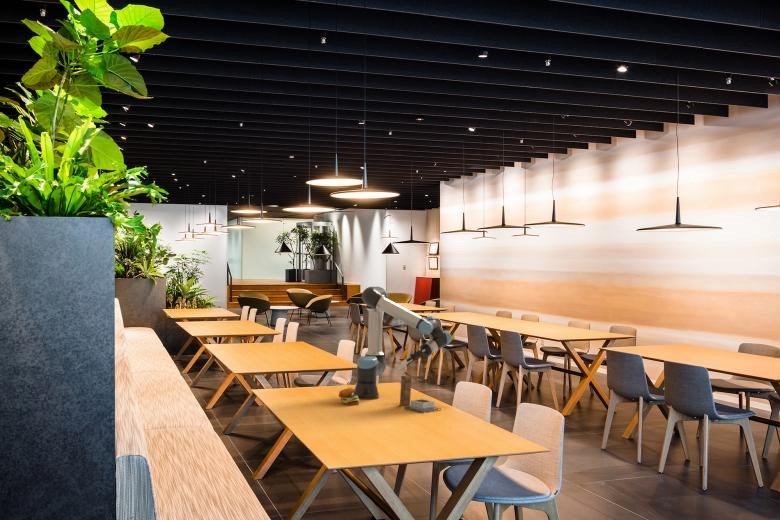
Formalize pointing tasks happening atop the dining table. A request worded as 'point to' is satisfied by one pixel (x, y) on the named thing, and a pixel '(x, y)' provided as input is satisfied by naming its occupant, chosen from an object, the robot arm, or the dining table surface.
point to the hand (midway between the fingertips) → (399, 366)
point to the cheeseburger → (348, 397)
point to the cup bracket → (421, 406)
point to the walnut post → (405, 390)
